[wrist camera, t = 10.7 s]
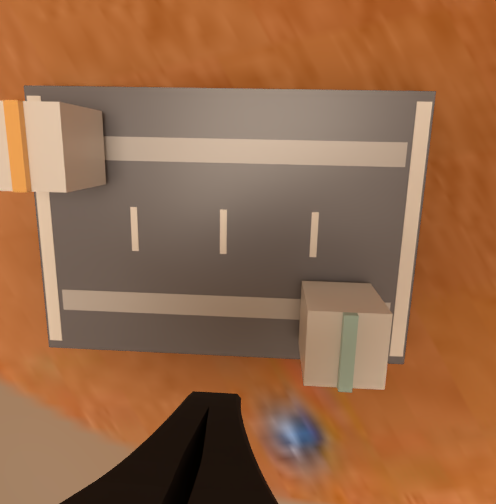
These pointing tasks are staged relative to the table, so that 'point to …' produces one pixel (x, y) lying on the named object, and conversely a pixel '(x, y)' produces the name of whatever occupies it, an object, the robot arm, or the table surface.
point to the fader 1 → (50, 147)
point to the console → (232, 215)
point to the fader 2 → (343, 335)
